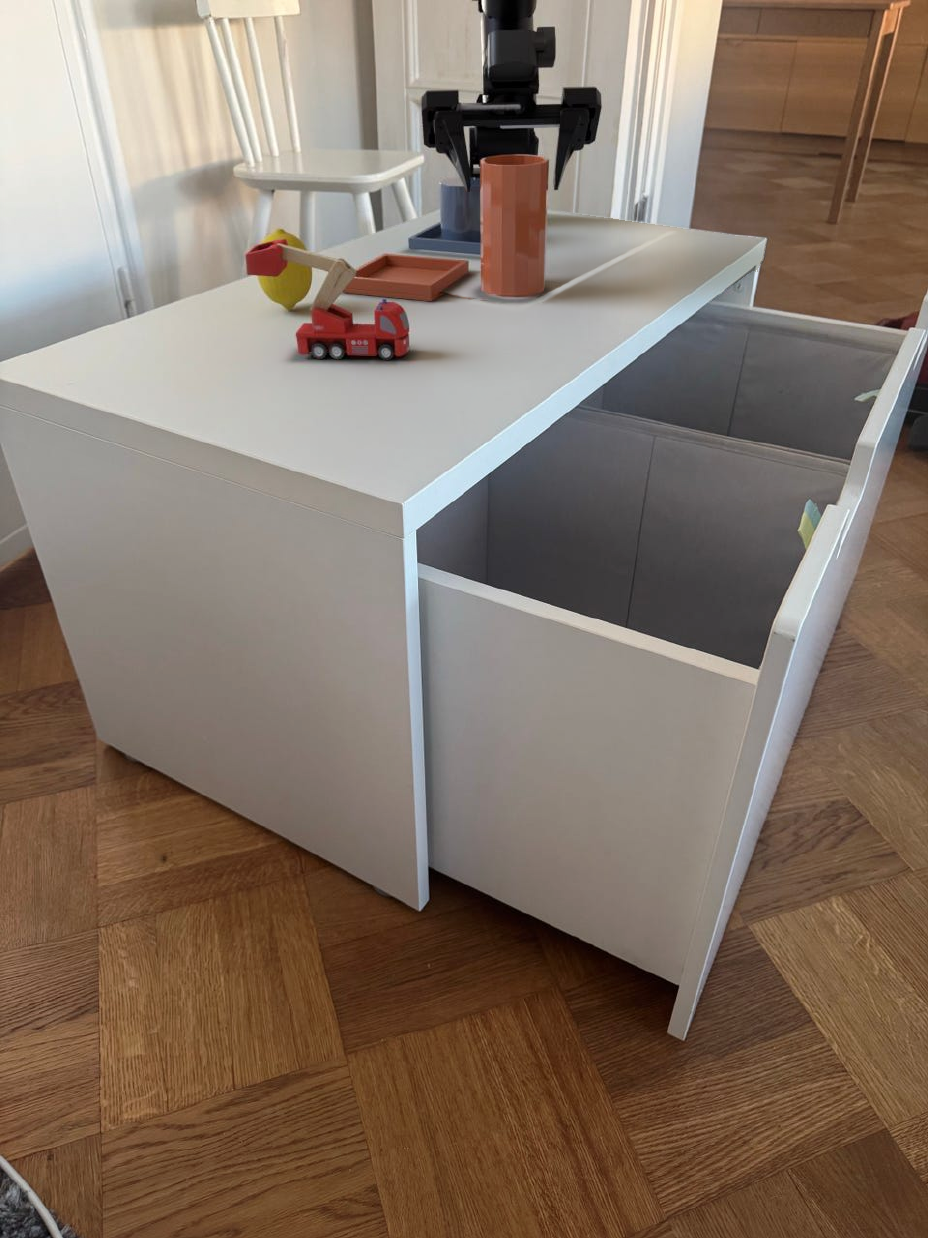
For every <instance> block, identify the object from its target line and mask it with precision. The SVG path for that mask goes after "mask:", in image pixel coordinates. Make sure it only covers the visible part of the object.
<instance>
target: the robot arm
mask: <svg viewBox="0 0 928 1238" xmlns="http://www.w3.org/2000/svg"><path fill="white" fill-rule="evenodd" d="M471 2H477V11H478V12H479V13H480V14H482V15H481V18H480V37H481V40H480V41H481V42H480V45H481V76H482V79H481V80H482V93H479V94H478V96H477V98H476V102H460V90H459V89H426V90H425V92H423V94H422V96H421V98H420V101H421V105H420V107H421V124H422V137H423V146H425V147H427V148H429V149H435V152H436V153H438V154H442V155H443V154H444V155H445V156H446V157H447V158H448V160H449V161H450V163H451V164H452V166H453V167H454V169H455V171H456V173H457V175H458V176H459V177H460V179H461V181H462V183H463V185H464V187H465V189H466V191H467V192H471V181H470V177H474V178H480V160H481V159H483V158H486V157H490V156H497V155H511V154H512V155H513V154H520V155H537V156H539V145H540V138H539V137H538V136H537V135H536V131H535V129H540V128H542V129H543V128H545V129H547V128H558V129H557V131H558V132H557V133H558V134H557V135H558V136H557V142H556V149H555V159H554V168H553V169H554V170H553V179H552V183H553V191H559V189H560V185H561V182H562V179H563V176H564V173H565V170H566V168H567V165H568V163H569V161H570V159H571V157H572V156H573V154H574V153H575V152H579V151H581V150H583V149H584V148H585V145H587V146H588V145H591V144H593V143H594V142H596V138H597V133H598V127H599V122H600V119H601V112H602V108H603V105H602V93H601V91H600V90H599V89H598V88H597V87H596V86H562V92H561V99H560V103H542V104H541V103H540V104H538V103H537V102H538V101H537V100H538V99H537V95H539V92H540V69H545V68H546V69H547V68H549V69H551V68H553V67H554V66H555V62H556V57H557V56H556V55H557V49H556V48H557V43H556V41H557V39H556V26H538V27H536V30H534V27H535V26H534V14H535V12H536V9H537V4H538V3H537V2H538V0H471ZM465 127H466V128H467V127H468V148H467V142H466V135H465ZM474 166H478V167H474Z"/></svg>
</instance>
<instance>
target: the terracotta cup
mask: <svg viewBox="0 0 928 1238" xmlns="http://www.w3.org/2000/svg"><path fill="white" fill-rule="evenodd" d="M479 168H480V222H481V255H480V288H481V291H482V292H483V293H484V294H487V295H490V296H493V297H501V298H523V297H531V296H535V295H538V294H541V293H542V292H544V290H545V288H546V287H545V286H546V266H547V265H546V263H547V235H548V232H547V231H548V203H549V175H550V174H549V171H550V159H549V158H547V157H545V156H543V155H538V156H537V155H520V154H513V155H512V154H511V155H497V156H490V157H486V158H483V159H481V160H480V167H479ZM542 296H543V294H542V295H539V296H537V297H536V299H538V298H540V297H542Z"/></svg>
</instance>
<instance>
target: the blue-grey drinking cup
mask: <svg viewBox="0 0 928 1238" xmlns="http://www.w3.org/2000/svg"><path fill="white" fill-rule="evenodd" d="M470 181H471V192H467V191H466V189H465V187H464V185H463V183H462V181H461V179H460V177H450V178H445V179H441V180H440V181H439V182H438V185H439V186H438V187H439V215H440V216H439V217H440V222H441V240H453V241H465V242H477V243H481V222H480V178H474V177H470Z"/></svg>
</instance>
